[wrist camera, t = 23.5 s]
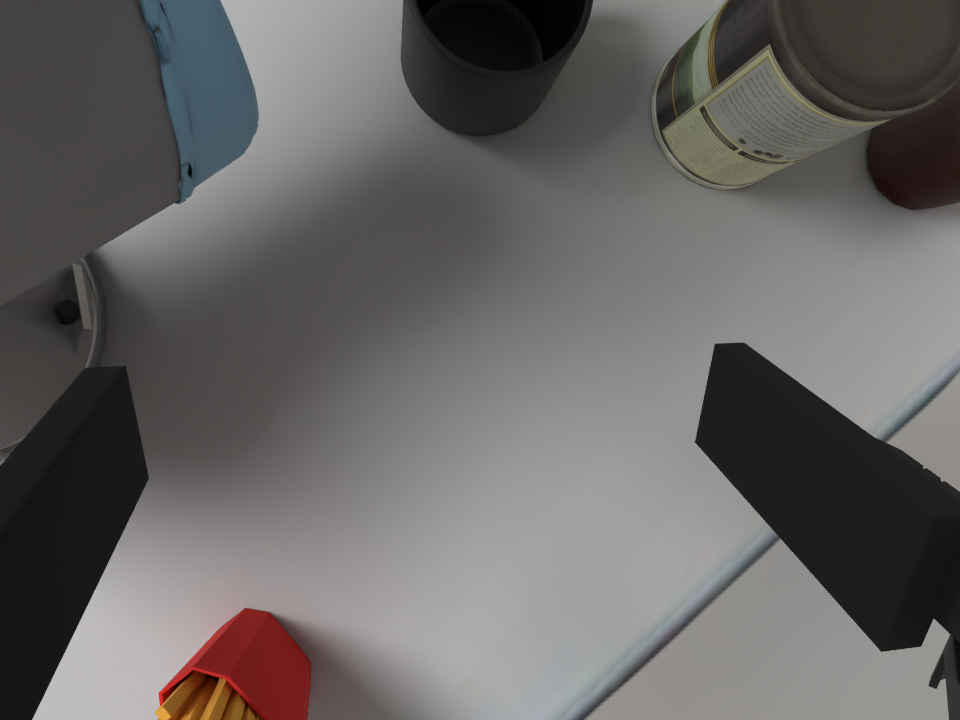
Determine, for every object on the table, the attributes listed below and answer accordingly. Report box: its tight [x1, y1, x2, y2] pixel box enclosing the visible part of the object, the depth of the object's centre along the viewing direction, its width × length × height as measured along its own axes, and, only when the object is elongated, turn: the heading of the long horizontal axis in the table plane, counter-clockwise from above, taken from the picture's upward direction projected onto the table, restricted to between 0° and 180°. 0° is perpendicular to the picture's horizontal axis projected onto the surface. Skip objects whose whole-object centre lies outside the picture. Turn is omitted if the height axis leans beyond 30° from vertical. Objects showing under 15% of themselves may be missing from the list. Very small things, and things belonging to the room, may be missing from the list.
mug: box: [401, 0, 593, 136], centre depth 36 cm, size 9×12×9 cm
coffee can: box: [651, 0, 960, 190], centre depth 36 cm, size 10×10×14 cm
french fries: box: [155, 608, 311, 720], centre depth 34 cm, size 8×4×12 cm, turn 37°
